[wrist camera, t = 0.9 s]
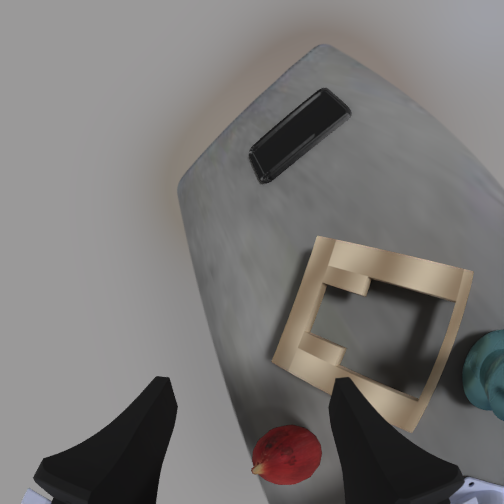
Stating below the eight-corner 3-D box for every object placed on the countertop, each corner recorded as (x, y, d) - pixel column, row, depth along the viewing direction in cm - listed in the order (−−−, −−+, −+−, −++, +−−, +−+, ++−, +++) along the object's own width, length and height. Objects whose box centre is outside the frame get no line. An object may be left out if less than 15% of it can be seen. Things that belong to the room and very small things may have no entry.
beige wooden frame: (472, 281, 17) (473, 271, 15) (419, 420, 17) (411, 433, 14) (334, 247, 27) (317, 235, 25) (292, 361, 27) (271, 361, 24)
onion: (288, 413, 25) (231, 427, 19) (340, 423, 21) (291, 447, 16) (281, 461, 23) (226, 484, 18) (330, 475, 20) (281, 509, 14)
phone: (247, 150, 40) (324, 85, 34) (252, 154, 41) (328, 90, 34) (261, 184, 36) (352, 110, 29) (267, 188, 37) (356, 116, 30)
